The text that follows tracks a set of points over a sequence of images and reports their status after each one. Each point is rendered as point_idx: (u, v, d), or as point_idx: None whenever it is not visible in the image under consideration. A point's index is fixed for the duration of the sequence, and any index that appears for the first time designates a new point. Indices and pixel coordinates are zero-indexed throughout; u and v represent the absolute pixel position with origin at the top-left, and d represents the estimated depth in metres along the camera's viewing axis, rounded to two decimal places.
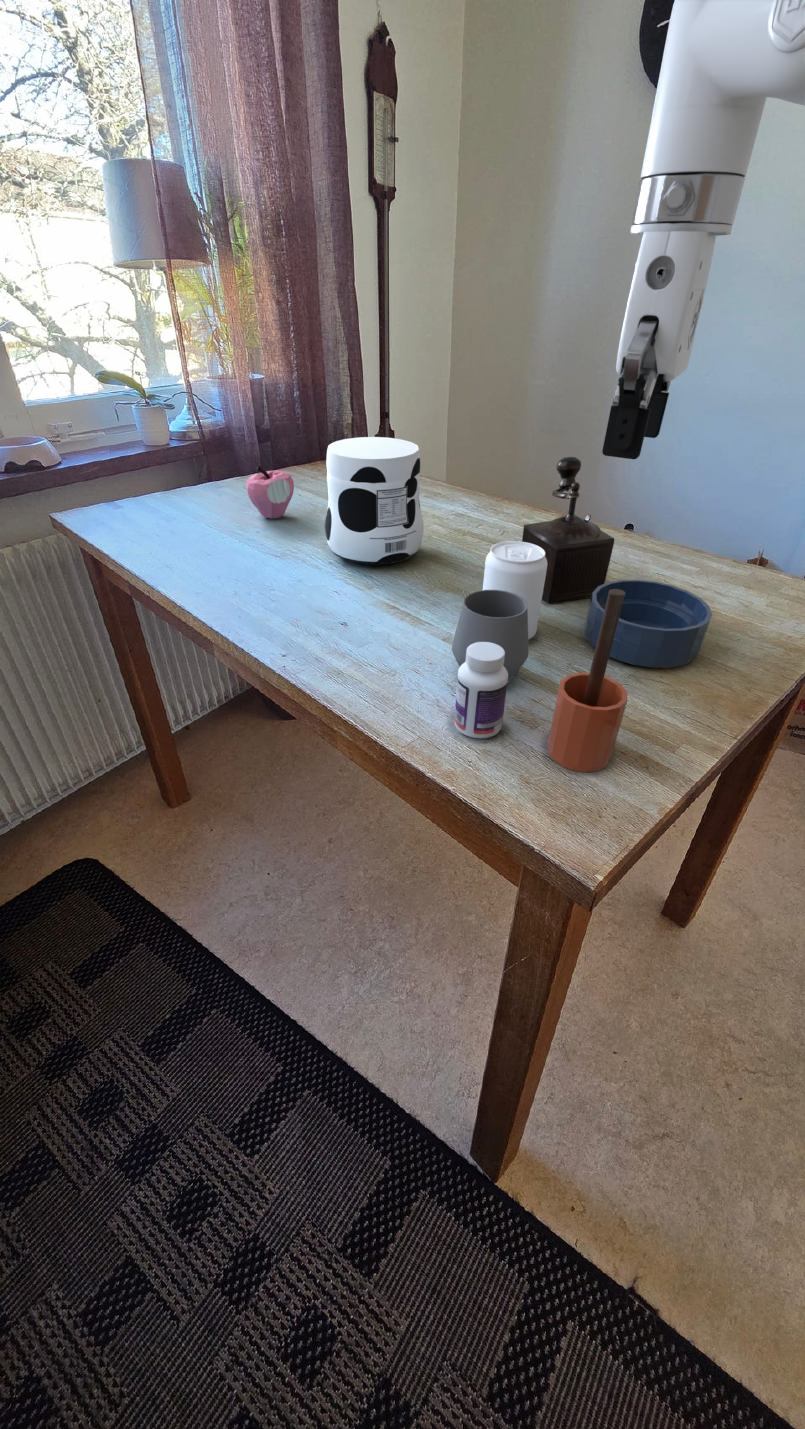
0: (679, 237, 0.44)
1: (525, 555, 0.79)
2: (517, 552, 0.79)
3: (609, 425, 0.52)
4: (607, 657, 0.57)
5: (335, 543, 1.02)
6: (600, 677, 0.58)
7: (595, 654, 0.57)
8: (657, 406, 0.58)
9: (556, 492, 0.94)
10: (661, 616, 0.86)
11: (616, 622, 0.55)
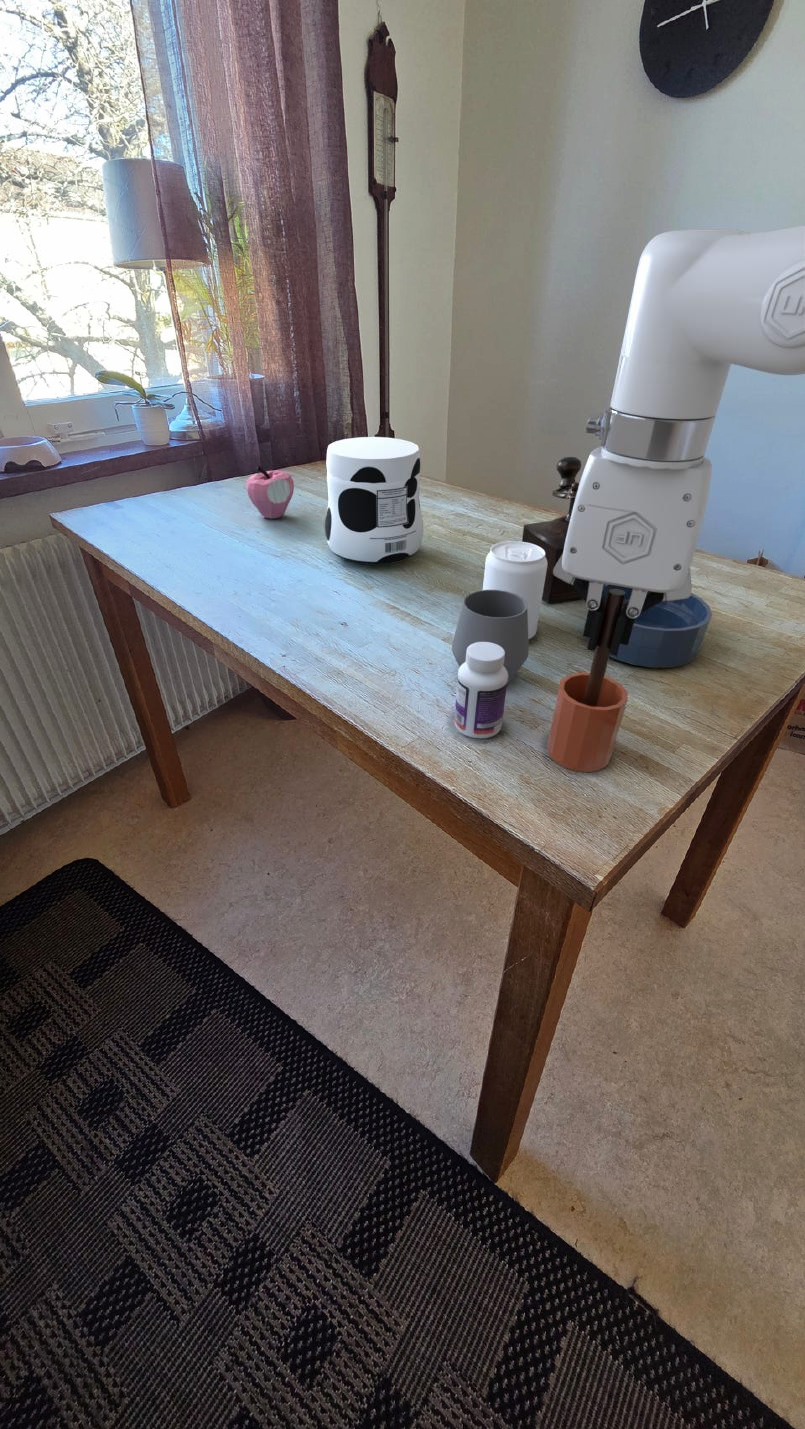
0: (589, 457, 0.48)
1: (525, 555, 0.79)
2: (517, 552, 0.79)
3: None
4: (607, 657, 0.57)
5: (335, 543, 1.02)
6: (600, 677, 0.58)
7: (595, 654, 0.57)
8: None
9: (556, 492, 0.93)
10: (661, 616, 0.86)
11: (616, 622, 0.55)
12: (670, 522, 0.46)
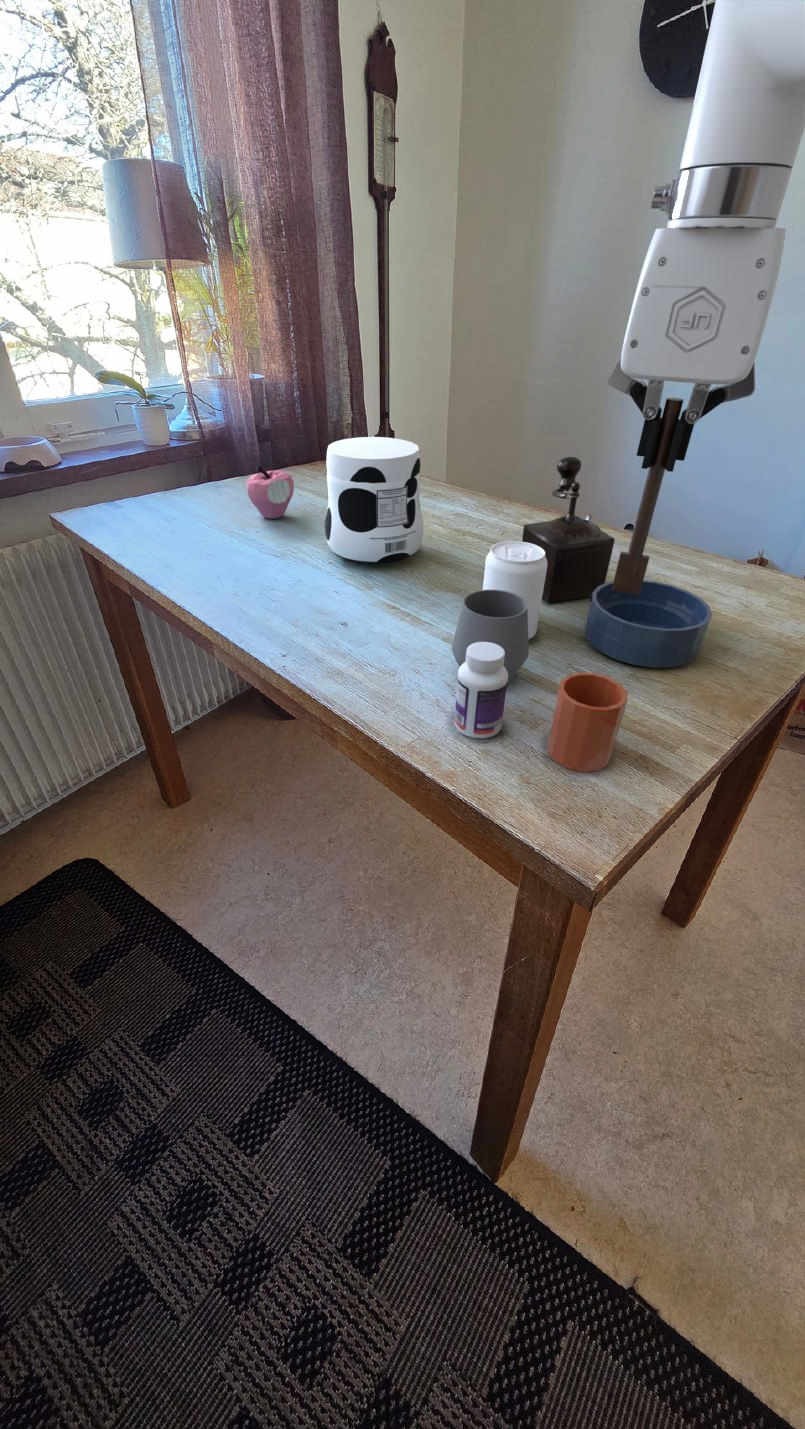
0: (653, 235, 0.46)
1: (525, 555, 0.79)
2: (517, 552, 0.79)
3: None
4: (661, 478, 0.55)
5: (335, 543, 1.02)
6: (652, 502, 0.57)
7: (648, 476, 0.56)
8: (673, 436, 0.53)
9: (556, 492, 0.93)
10: (661, 616, 0.86)
11: (673, 434, 0.53)
12: (740, 295, 0.45)
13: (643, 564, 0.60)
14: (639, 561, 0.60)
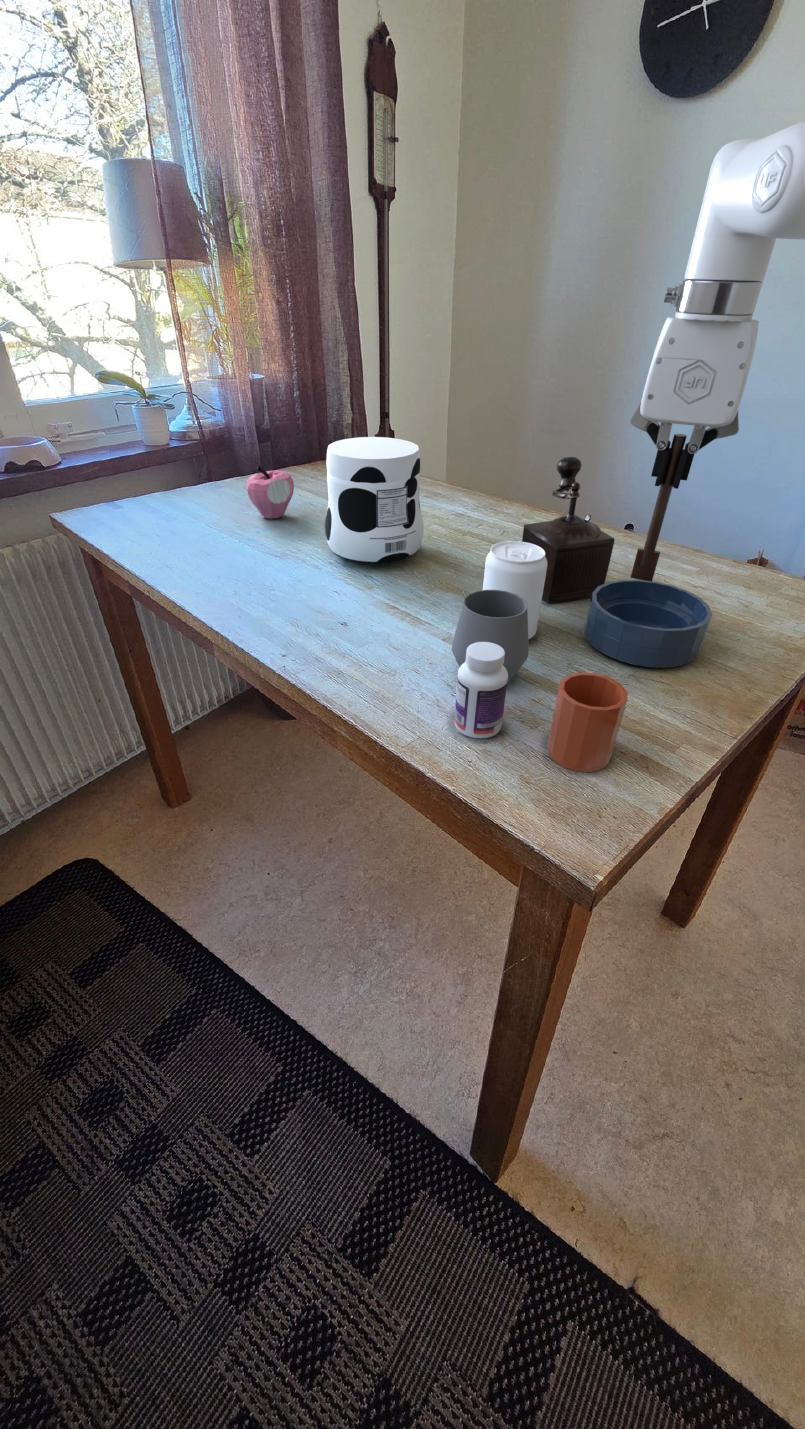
0: (665, 321, 0.64)
1: (525, 555, 0.79)
2: (517, 552, 0.79)
3: None
4: (669, 493, 0.74)
5: (335, 543, 1.02)
6: (663, 511, 0.75)
7: (660, 491, 0.74)
8: (679, 462, 0.71)
9: (556, 492, 0.93)
10: (661, 616, 0.86)
11: (678, 461, 0.71)
12: (727, 366, 0.63)
13: (655, 558, 0.79)
14: (652, 555, 0.79)
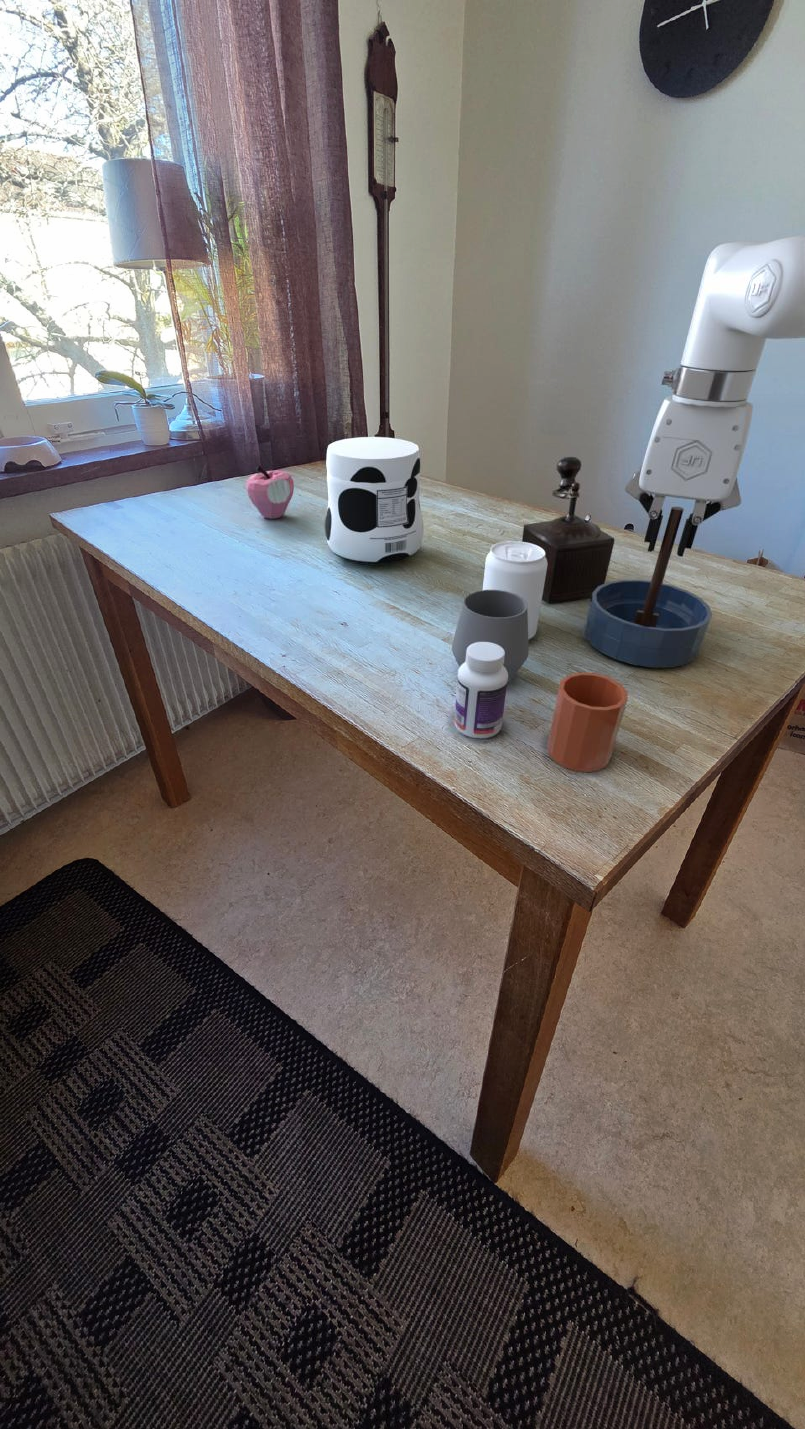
0: (663, 402, 0.67)
1: (525, 555, 0.79)
2: (517, 552, 0.79)
3: None
4: (667, 561, 0.76)
5: (335, 543, 1.02)
6: (661, 577, 0.78)
7: (658, 559, 0.77)
8: (683, 532, 0.73)
9: (556, 492, 0.93)
10: (661, 616, 0.86)
11: (676, 532, 0.74)
12: (722, 447, 0.65)
13: (654, 620, 0.81)
14: (651, 617, 0.81)
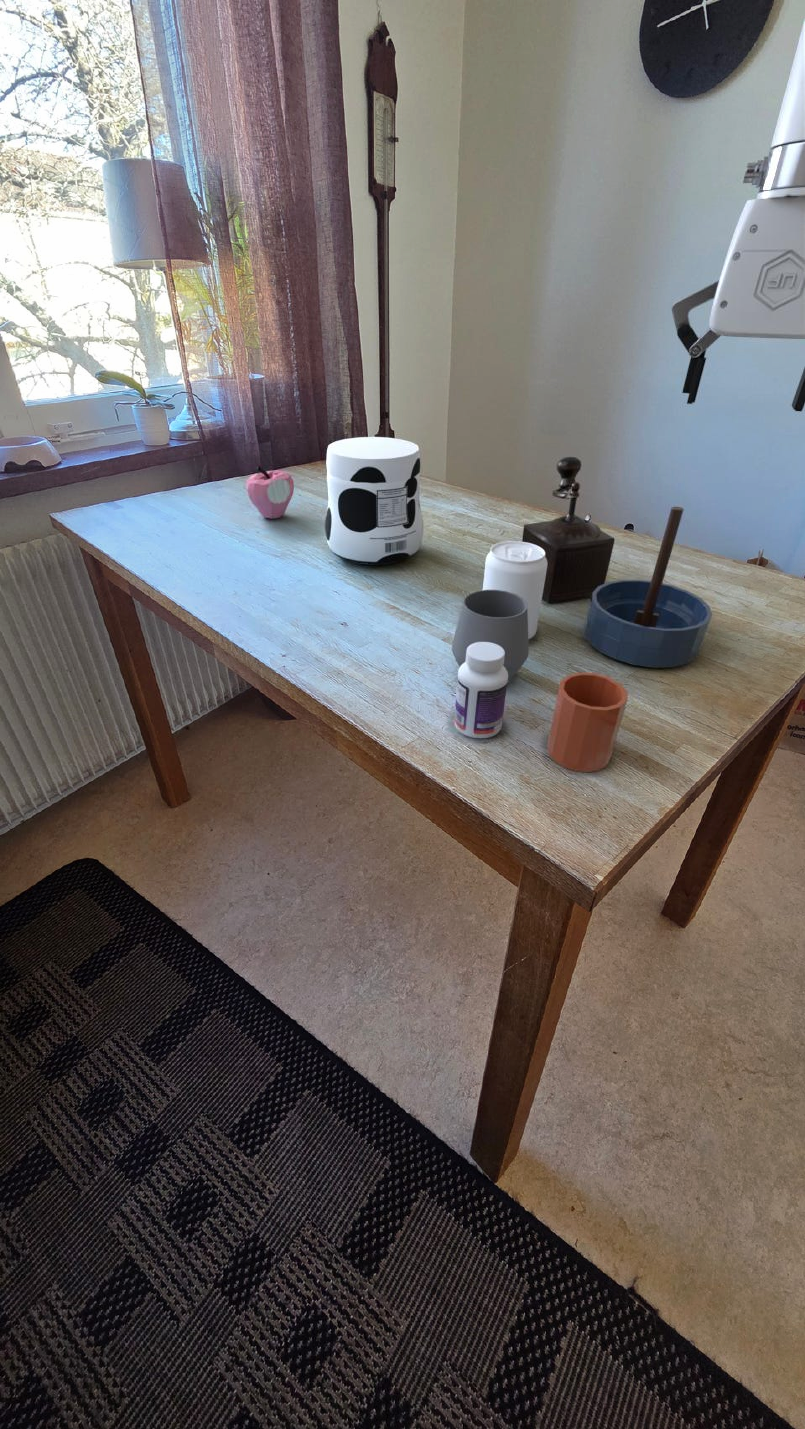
0: None
1: (525, 555, 0.79)
2: (517, 552, 0.79)
3: None
4: (667, 561, 0.76)
5: (335, 543, 1.02)
6: (661, 577, 0.78)
7: (658, 559, 0.77)
8: (804, 377, 0.56)
9: (556, 492, 0.93)
10: (661, 616, 0.86)
11: (676, 532, 0.74)
12: None
13: (654, 620, 0.81)
14: (651, 617, 0.81)
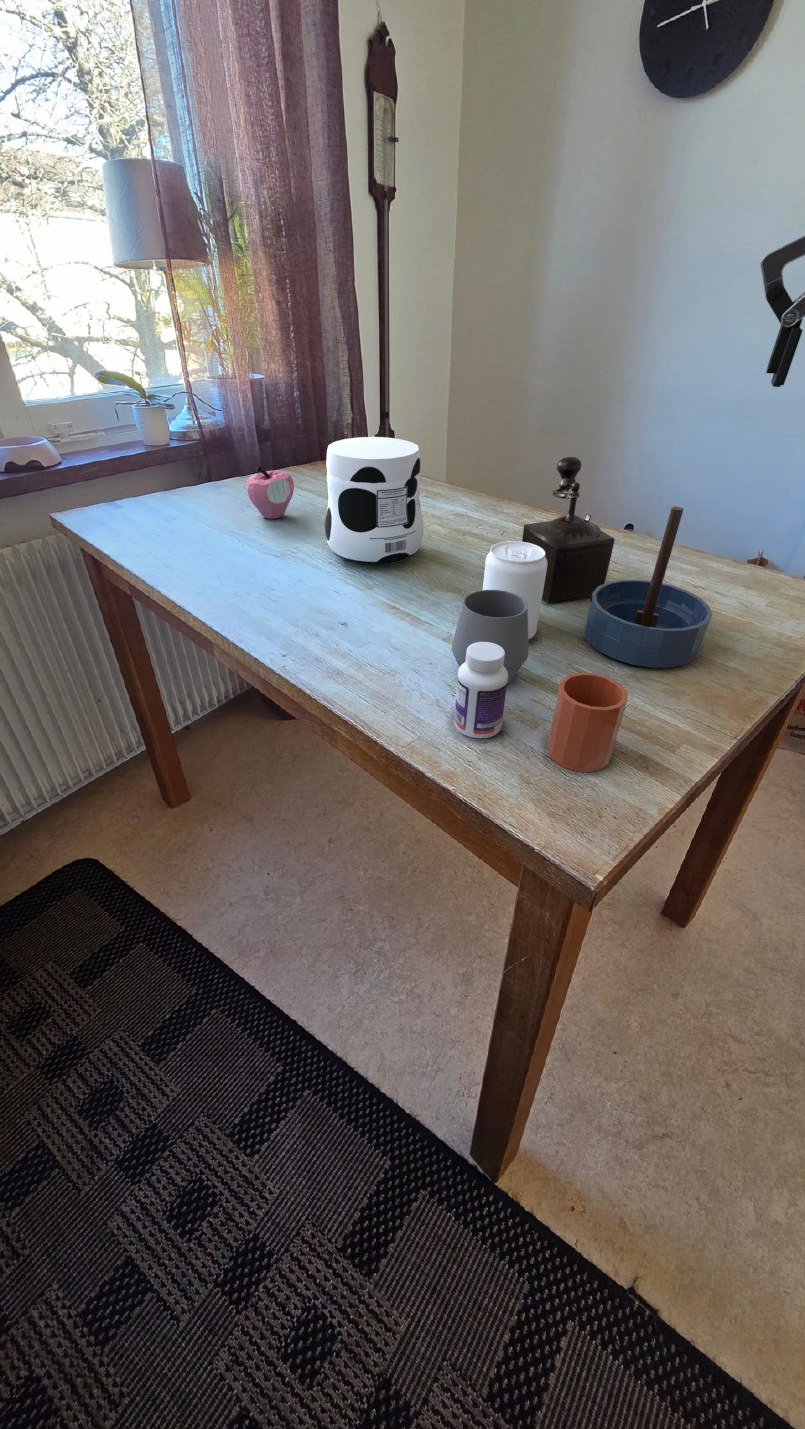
0: None
1: (525, 555, 0.79)
2: (517, 552, 0.79)
3: None
4: (667, 561, 0.76)
5: (335, 543, 1.02)
6: (661, 577, 0.78)
7: (658, 559, 0.77)
8: None
9: (556, 492, 0.93)
10: (661, 616, 0.86)
11: (676, 532, 0.74)
12: None
13: (654, 620, 0.81)
14: (651, 617, 0.81)
